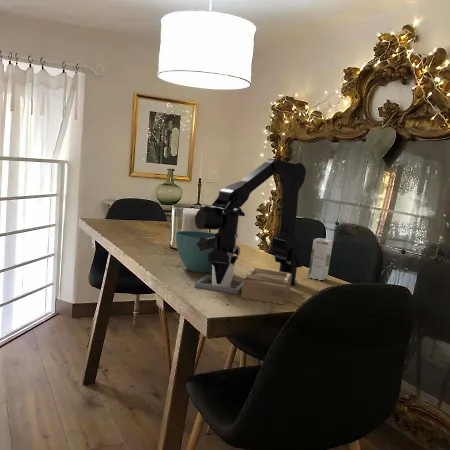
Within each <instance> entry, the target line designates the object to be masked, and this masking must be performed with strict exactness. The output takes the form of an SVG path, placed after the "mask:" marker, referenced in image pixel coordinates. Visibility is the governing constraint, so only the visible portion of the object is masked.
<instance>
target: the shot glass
mask: <svg viewBox="0 0 450 450" xmlns="http://www.w3.org/2000/svg"><path fill="white" fill-rule="evenodd" d="M235 268H236V264H232V263H231V264H230V266H229V268H228V270H227V272H226V274H225V276H224V278H223V280H222V282H221V284H217V282H216V275H215V269H214V266H213V265H212V271H211V273H212V274H211V276H212V280H211V285H216V286H222V287H228V288H231V285H232V284H231V281H232V279H233V278H234V277H233V276H234V271H235Z"/></svg>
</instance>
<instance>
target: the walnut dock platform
mask: <svg viewBox="0 0 450 450" xmlns="http://www.w3.org/2000/svg"><path fill="white" fill-rule="evenodd" d="M291 277H292V274H291V273H285V272H279V270H273V269H265V268H259V267H252V268H251V269H250V270H249V271H248V272H247V273H246V275H245V277H244V278H243V280H242V281H243V285H242V290H241V292H240V293H241V294H240V299H245V298H247V299H246V300H251V299H253V301H257V300H260V301H259V302H263V301H267V302H266V303H269V302H275V303H281V304H284V305H285V303H286V301H285V300H287V298H286V297H288V296H287V295H289V293H290V291H289V290H291V286H292V285H291ZM288 292H289V293H288ZM284 302H285V303H284ZM275 303H274V304H275ZM281 304H280V305H281Z"/></svg>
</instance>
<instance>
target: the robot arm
mask: <svg viewBox="0 0 450 450" xmlns="http://www.w3.org/2000/svg"><path fill="white" fill-rule="evenodd" d="M306 173H307V169H306V167H305V165H304V164H303V163H302V162H292V161H283V160H281V159H279V158H267V159H265V161H264V162H263V163H262V164H260V165H259V166H258V167H257V168H255V169H253V171H252V172H250V173H249V174H248V175H245V177H244V178H242V179H241V180H239V181H237V182H234V183H231V184H229V185H227V186H225V187H222V188H221V189H220V191H219V192H218V196H217V197H216V198H215V199H214V201H213V202H212V203H211V204H210V206H208V205H200V206H199V207H200V208H199V209H198V211H196V214H195V217H194V225H195V226H196V229H198V230H213V231H216V230H217V232H215V237H211V238H206V237H201V238H199V241H197V247H199V251H203V250H206V249H210V248H213V251H211V252H210V253H208V259H207V260H208V261H209V262H210V263H211V264H212V265H213V266H214V269H215V275H216V282H217V284H221V282H222V280H223V278H224V276H225V274H226V272H227V270H228V268H229V266H230V264H231V263H232V264H234V265H236V262H237V260H238V259H239V256H241V247H240V246H239V245H237V244H236V243H237V239H238V237H239V234H238V225H239V217H246V214H245V212H244V211H243V210H242V206H243V205H245V203H246V202H247V201H248V200H249V198H250V194H252V192H254V191H255V190H256V189H257V188H258V187H259V186H261V185H262V184H264V183H265V182H266V181H267V180H269V179H270V178H271V177H272V176H274V175H275V174H276V175H278V177H279V178H278V179H279V180H278V181H279V182H280V185H281V187H282V200H281V213H280V215H281V216H280V226H279V233H278V235H277V237H273V238H272V247H271V251H272V254H273V255H274V261H275V263H279V268H278V269H279V270H278V271H279V272H285V273H291V274H292V277H291V285H290V286H296V285H297V283H298V280H296V279H297V272H298V271H297V269H298V268H302V267H303V265H304V264H305V260H304V258H303V256H302V255H301V253H300V245H299V244H300V243H299V240H298V237H297V236H296V225H297V214H298V212H297V211H298V202H299V201H298V200H299V191H300V190H301V187H302V186H303V184H304V183H305V178H306Z"/></svg>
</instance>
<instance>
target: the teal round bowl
mask: <svg viewBox="0 0 450 450" xmlns="http://www.w3.org/2000/svg"><path fill="white" fill-rule="evenodd" d="M215 234H216V232H207V231H198V230H197V231H196V230H195V231H194V230H180V231H176V232H175V244H176V249H177V252H178V255H179V258H180V260H181V262H182V264H183V265H184V267H185V268H186V269H187V270H188V271H191V272H194V273H203V274H205V273H212V264H211V263H210V262H209V261H208V260H207V259H208V253H210V252H211V251H213V248H210V249H206V250H203V251H199V247H197V241H199V238H201V237H206V238H211V237H215Z"/></svg>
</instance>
